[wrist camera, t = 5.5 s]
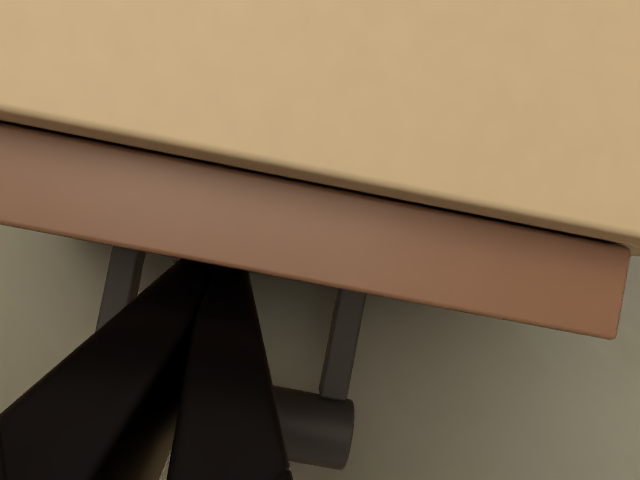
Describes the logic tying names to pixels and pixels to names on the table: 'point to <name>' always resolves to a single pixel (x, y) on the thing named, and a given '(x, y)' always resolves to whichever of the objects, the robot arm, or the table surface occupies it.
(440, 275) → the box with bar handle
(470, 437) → the table surface
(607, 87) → the tan drawer box
